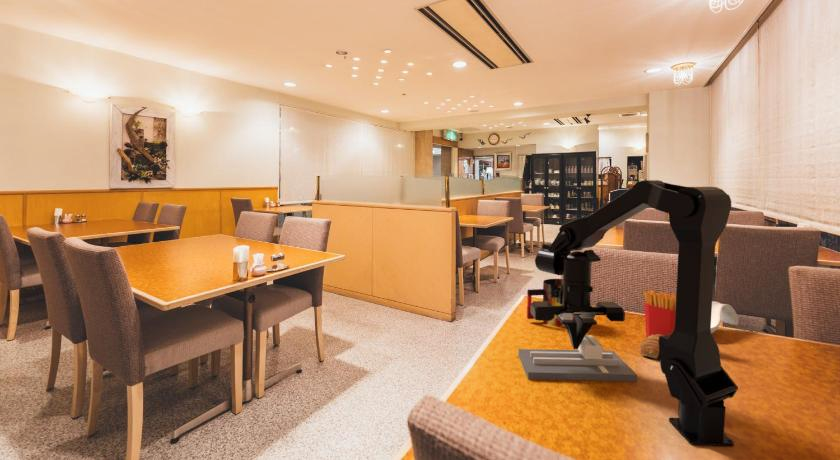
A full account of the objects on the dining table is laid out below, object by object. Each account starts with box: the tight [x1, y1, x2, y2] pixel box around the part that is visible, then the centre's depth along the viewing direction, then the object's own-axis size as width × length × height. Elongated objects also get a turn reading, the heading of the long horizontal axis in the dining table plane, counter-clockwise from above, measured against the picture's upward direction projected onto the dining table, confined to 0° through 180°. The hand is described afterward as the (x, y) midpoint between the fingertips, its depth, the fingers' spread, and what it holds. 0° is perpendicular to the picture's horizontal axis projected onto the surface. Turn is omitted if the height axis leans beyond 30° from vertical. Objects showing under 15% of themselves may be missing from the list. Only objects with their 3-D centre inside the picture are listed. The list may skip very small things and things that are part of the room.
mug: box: [526, 278, 576, 328], centre depth 116 cm, size 10×14×12 cm
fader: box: [577, 334, 604, 359], centre depth 86 cm, size 6×4×5 cm, turn 175°
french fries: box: [643, 290, 676, 338], centre depth 100 cm, size 9×4×13 cm, turn 33°
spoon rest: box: [710, 300, 739, 335], centre depth 108 cm, size 24×12×7 cm, turn 115°
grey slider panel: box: [517, 348, 638, 383], centre depth 87 cm, size 12×22×3 cm, turn 85°
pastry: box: [639, 334, 664, 360], centre depth 94 cm, size 9×7×4 cm
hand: (575, 348), depth 86 cm, fingers closed
